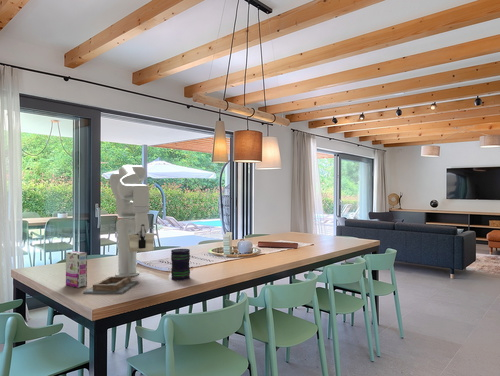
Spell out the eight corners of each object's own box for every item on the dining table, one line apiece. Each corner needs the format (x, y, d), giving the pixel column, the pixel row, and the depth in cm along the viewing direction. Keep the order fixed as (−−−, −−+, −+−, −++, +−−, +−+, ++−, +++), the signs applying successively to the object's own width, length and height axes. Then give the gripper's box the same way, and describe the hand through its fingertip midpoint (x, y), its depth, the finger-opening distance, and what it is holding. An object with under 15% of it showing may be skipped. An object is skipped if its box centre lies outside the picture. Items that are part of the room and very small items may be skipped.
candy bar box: (87, 286, 176) (87, 252, 176) (78, 288, 172) (77, 254, 172) (74, 283, 182) (74, 250, 182) (65, 285, 178) (65, 252, 178)
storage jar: (172, 276, 195) (172, 248, 195) (190, 275, 196) (190, 248, 196) (169, 280, 185) (169, 251, 185) (189, 280, 186) (188, 251, 186)
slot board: (103, 282, 182) (103, 275, 182) (138, 282, 181) (138, 275, 181) (83, 293, 162) (83, 285, 162) (122, 293, 161) (122, 286, 161)
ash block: (128, 250, 174) (128, 234, 174) (152, 249, 179) (152, 232, 179) (130, 252, 170) (130, 235, 170) (153, 250, 175) (153, 233, 175)
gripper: (130, 209, 181) (130, 245, 180) (135, 211, 165) (135, 250, 165) (146, 208, 184) (146, 244, 184) (152, 210, 169) (152, 249, 168)
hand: (141, 247), depth 174 cm, fingers closed on ash block, 4 cm apart
